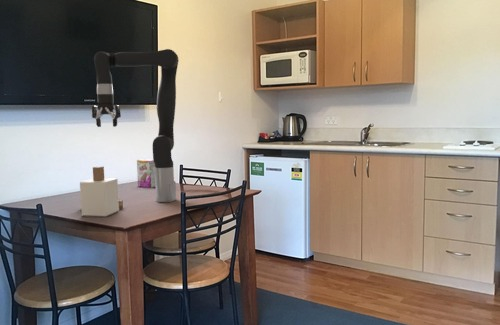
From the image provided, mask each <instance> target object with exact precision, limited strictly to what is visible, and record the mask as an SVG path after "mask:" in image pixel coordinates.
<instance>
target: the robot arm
mask: <svg viewBox="0 0 500 325" xmlns="http://www.w3.org/2000/svg"><path fill="white" fill-rule="evenodd" d="M93 61H94V68H95V72H96V83H97V84H96V94H97V98H96V99H97V105H92V107H91V118H93V119H95V120H96V121H95V123H96V126H97V128H101V127H102V123H101V121H102V119H101V118H102V117H103V115H110V116H111V118H112V127H113V128H114V127H115V128H116V127H117V126H118V119H119V118H121V117H122V116H121V106H120V105H117V104H116V105H114V89H113V88H114V87H113V76H112V74H111V70H110V68H117V67H120V68H124V67H125V68H126V67H140V66H141V67H143V66H155V67H156V66H157V67H160V83H159V86H158V90H157V96H156V114H157V118H158V126H159V127H158V133H157V134H158V135H157V136H156V137H155V138H154V139H153V141H152V160H153V161H154V164H155V183H156V187H155V201H156V202H158V203H172V202H174V201H175V200H177V190H176V181H175V176H174V175H175V174H174V161H173V158H172V150H173V148H174V146H175V139H174V138H175V136H174V124H175V115H176V114H175V113H176V104H177V102H176V101H177V86H176V82H177V81H176V78H177V72H178V65H179V57H178V55H177V53H176V52H175V51H174V50H172V49H171V48H165V49H160V50H157V51H156V50H155V51H145V52H144V51H143V52H142V51H141V52H140V51H119V52H112V53H111V52H106V51H98V52H96V53H95V55H94V58H93ZM114 110H115V112H114Z"/></svg>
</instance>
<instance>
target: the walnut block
mask: <svg viewBox="0 0 500 325" xmlns="http://www.w3.org/2000/svg"><path fill="white" fill-rule="evenodd" d="M118 200H119V210H122V209H123V208H124V202H123V201H124V200H123V199H118Z"/></svg>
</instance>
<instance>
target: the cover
mask: <svg viewBox="0 0 500 325" xmlns="http://www.w3.org/2000/svg"><path fill="white" fill-rule="evenodd" d="M118 181H119V180H118V178H105V168H104V166H99V165H98V166H93V167H92V178H91V179H86V180H83V181H80V182H79V191H80V208H81V210H80V211H81V216H82V215H91V216H107V215H109V214H112V213H114V212H116V211H118V212H119V211H120V209H119V200H120V199H119V186H118V185H119V183H118ZM116 213H117V212H116ZM114 214H115V213H114ZM112 215H113V214H112ZM109 216H110V215H109ZM107 217H108V216H107Z"/></svg>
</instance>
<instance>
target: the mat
mask: <svg viewBox="0 0 500 325" xmlns="http://www.w3.org/2000/svg"><path fill="white" fill-rule="evenodd" d="M118 212H119V211H116V212H114V213H112V214H109V215H107V216H91V215H82V214H81V216H82V217H87V218H88V217H91V218H107V217H109V216H111V215H114V214H116V213H118Z"/></svg>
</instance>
